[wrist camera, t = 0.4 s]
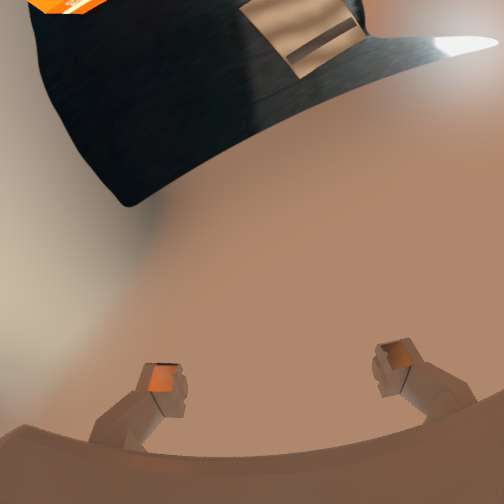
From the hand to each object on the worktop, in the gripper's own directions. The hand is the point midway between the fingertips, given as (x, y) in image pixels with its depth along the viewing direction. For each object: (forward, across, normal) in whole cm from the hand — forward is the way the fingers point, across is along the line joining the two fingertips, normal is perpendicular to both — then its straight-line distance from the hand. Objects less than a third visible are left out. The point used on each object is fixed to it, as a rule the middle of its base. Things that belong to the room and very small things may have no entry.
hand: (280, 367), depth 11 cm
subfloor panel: (+43, -11, -28) cm, 53 cm away
